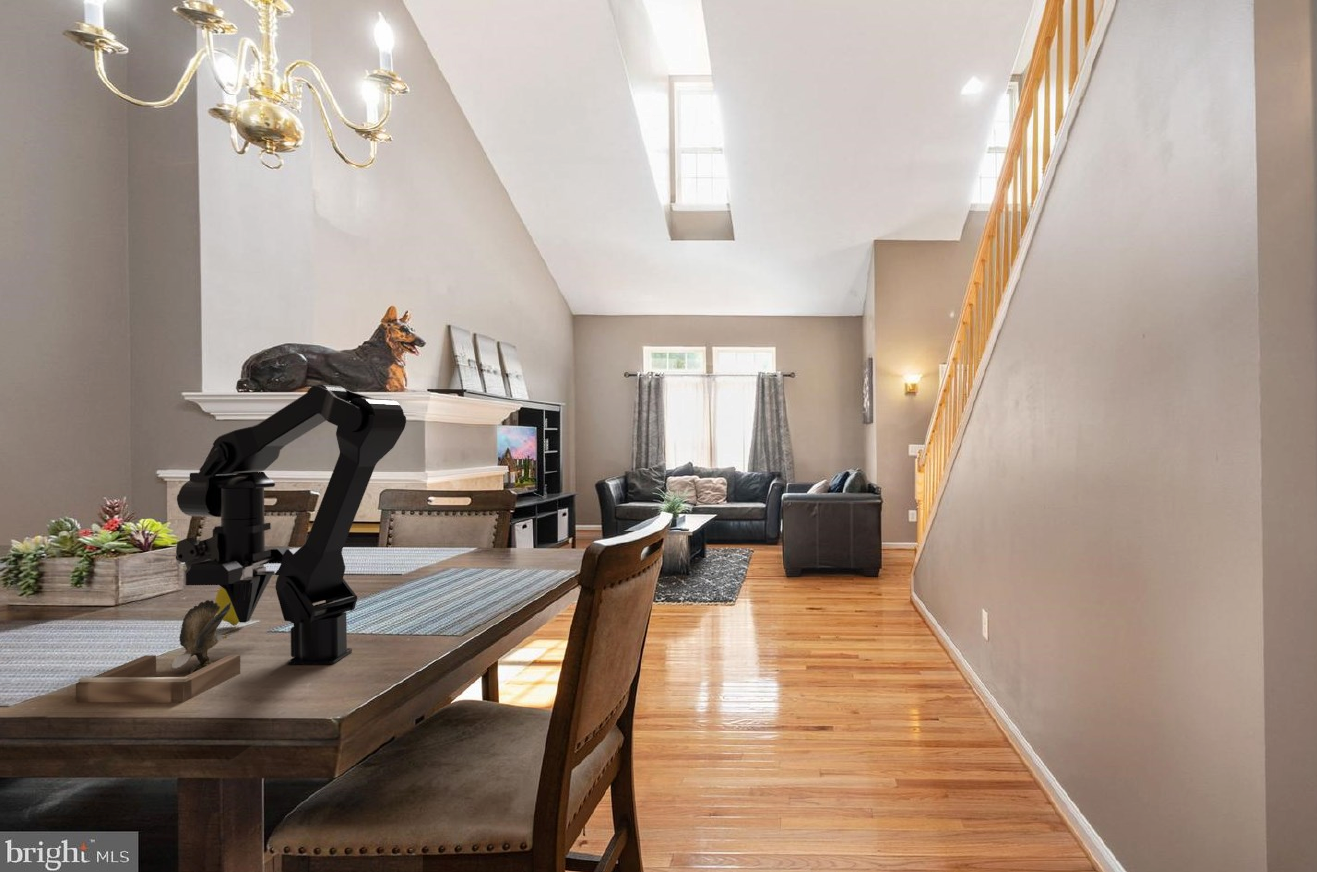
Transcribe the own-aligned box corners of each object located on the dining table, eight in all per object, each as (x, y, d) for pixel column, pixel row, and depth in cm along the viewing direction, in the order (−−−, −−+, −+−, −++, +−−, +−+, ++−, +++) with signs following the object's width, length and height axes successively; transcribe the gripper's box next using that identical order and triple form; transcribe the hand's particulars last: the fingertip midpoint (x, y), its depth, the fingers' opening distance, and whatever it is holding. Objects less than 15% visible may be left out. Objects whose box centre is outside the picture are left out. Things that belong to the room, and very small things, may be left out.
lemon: (212, 625, 126) (211, 578, 126) (248, 619, 130) (247, 574, 130) (219, 631, 122) (219, 582, 122) (257, 625, 126) (256, 578, 126)
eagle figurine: (247, 662, 105) (246, 598, 105) (207, 678, 98) (206, 610, 98) (201, 660, 106) (200, 597, 106) (158, 675, 99) (157, 608, 99)
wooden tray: (240, 673, 100) (240, 651, 100) (183, 704, 88) (183, 679, 88) (145, 673, 100) (144, 652, 100) (75, 704, 89) (75, 680, 89)
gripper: (227, 512, 122) (228, 608, 121) (145, 525, 103) (147, 639, 103) (295, 511, 121) (296, 607, 121) (225, 524, 103) (226, 638, 103)
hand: (244, 621), depth 112 cm, fingers closed
